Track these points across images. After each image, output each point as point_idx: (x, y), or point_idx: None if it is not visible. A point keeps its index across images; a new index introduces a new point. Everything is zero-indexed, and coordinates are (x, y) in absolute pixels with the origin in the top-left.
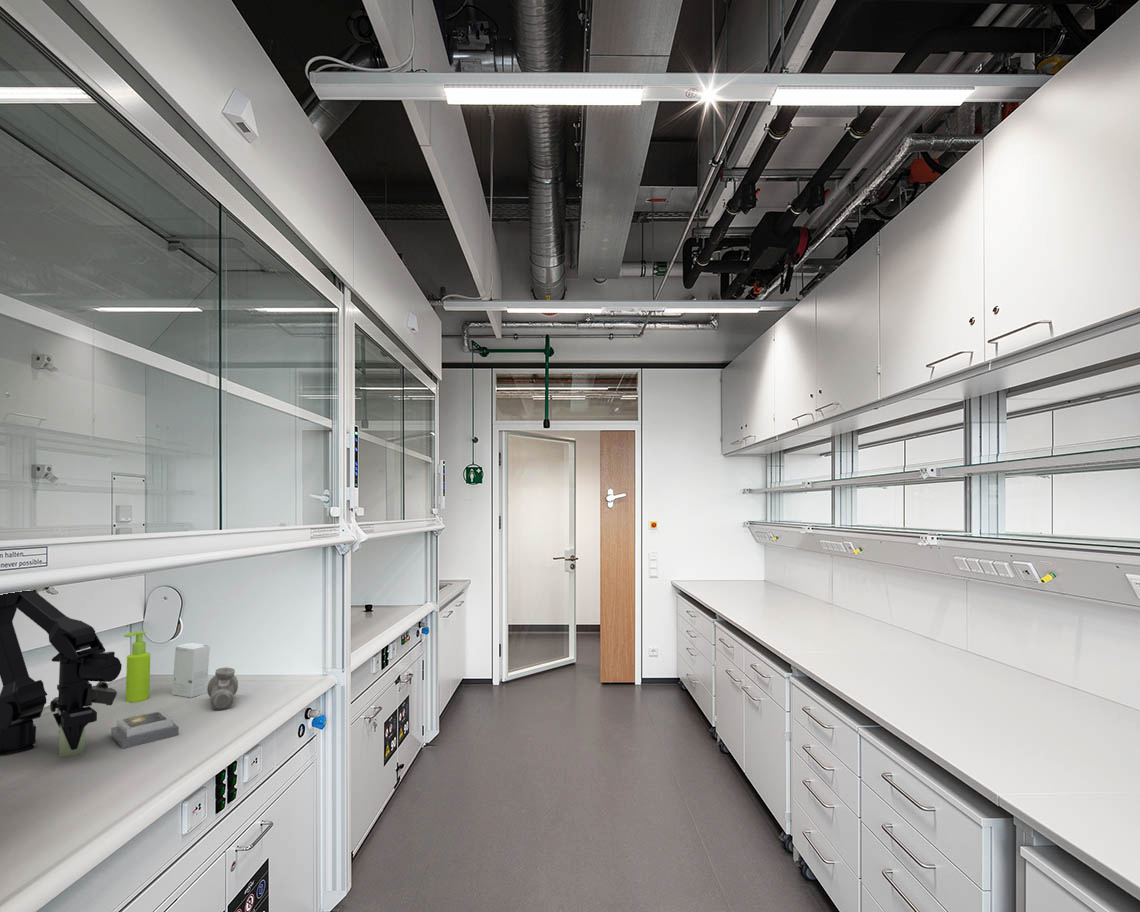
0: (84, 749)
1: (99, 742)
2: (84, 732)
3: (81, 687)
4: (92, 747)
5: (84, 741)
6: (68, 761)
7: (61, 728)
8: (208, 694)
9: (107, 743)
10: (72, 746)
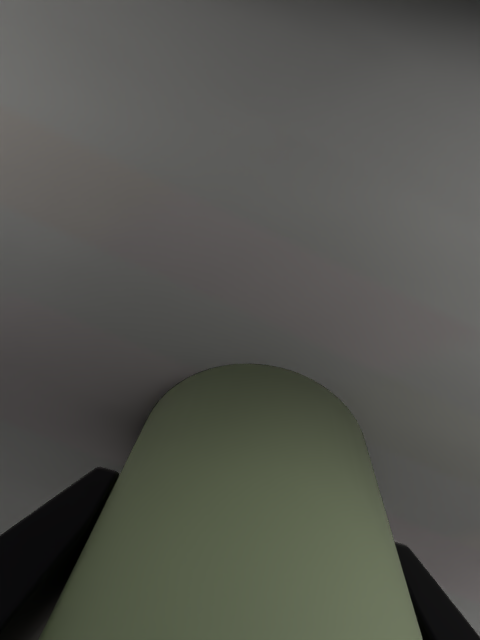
0: (326, 398)
1: (166, 142)
2: (398, 635)
3: None
4: (283, 285)
5: (350, 475)
6: (462, 570)
7: None
8: None
9: (317, 97)
10: None
